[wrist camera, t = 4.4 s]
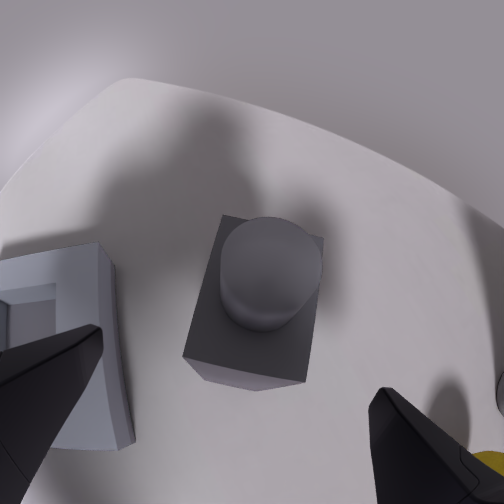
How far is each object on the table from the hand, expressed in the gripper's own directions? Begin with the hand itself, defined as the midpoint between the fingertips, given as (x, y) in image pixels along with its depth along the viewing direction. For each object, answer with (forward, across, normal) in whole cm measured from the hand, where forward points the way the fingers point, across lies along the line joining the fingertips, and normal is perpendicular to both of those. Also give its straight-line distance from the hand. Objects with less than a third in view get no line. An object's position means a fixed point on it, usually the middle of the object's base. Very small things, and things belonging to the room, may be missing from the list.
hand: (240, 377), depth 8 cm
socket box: (+5, +13, +8) cm, 16 cm away
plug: (+8, 0, +5) cm, 10 cm away
